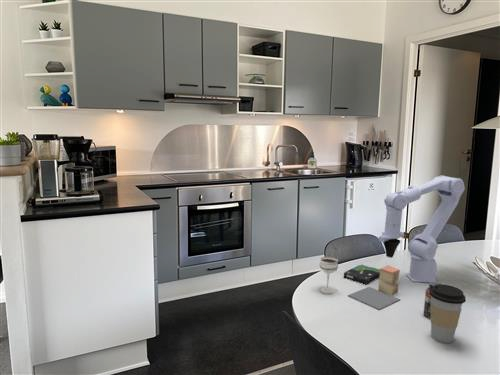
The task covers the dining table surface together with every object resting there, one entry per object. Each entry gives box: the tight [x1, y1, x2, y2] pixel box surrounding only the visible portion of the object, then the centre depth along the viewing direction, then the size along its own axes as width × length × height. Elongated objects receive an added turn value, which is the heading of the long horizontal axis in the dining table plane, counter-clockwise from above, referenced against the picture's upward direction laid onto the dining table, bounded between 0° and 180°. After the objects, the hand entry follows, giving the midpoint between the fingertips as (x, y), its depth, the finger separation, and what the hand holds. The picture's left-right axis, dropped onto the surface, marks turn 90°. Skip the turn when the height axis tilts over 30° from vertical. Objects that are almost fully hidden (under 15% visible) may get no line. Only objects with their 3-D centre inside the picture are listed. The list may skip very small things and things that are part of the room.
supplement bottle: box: [423, 281, 442, 320], centre depth 123 cm, size 6×6×11 cm
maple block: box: [377, 265, 401, 296], centre depth 141 cm, size 5×5×9 cm
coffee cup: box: [429, 283, 466, 344], centre depth 110 cm, size 9×9×15 cm
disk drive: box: [343, 264, 380, 286], centre depth 156 cm, size 10×3×15 cm
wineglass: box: [319, 256, 339, 294], centre depth 141 cm, size 7×7×12 cm
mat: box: [347, 286, 401, 311], centre depth 136 cm, size 13×13×1 cm
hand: (389, 256), depth 150 cm, fingers closed
